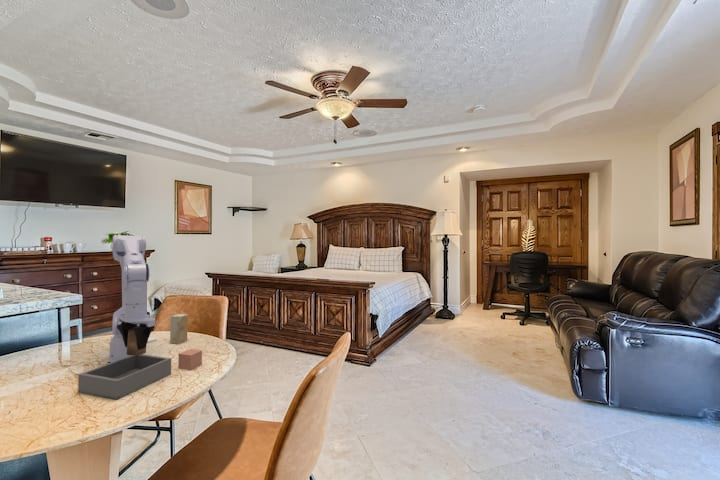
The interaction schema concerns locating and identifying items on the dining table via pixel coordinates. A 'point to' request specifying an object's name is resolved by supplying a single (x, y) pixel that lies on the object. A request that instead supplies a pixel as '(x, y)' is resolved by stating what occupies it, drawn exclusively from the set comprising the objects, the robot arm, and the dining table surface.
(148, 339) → the external hard drive
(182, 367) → the cube
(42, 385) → the dining table surface
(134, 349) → the walnut cylinder
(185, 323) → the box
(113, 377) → the tote
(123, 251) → the robot arm
